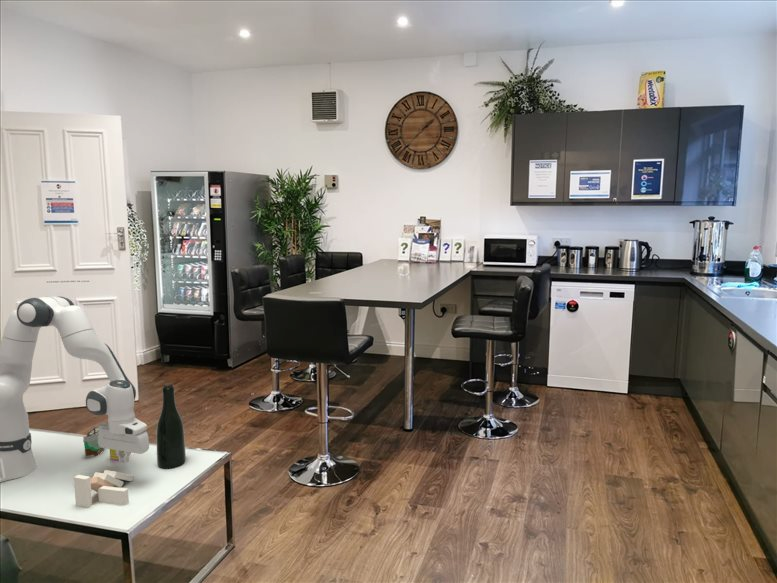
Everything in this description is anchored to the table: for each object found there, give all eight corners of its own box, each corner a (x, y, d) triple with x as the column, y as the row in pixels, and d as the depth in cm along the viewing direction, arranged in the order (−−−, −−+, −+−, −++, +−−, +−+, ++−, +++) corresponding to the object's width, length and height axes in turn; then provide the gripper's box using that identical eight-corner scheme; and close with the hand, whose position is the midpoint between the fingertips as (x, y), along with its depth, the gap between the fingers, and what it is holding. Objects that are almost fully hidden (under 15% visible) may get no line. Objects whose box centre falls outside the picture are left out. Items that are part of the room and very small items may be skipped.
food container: (101, 460, 231) (99, 436, 230) (84, 461, 230) (82, 437, 229) (110, 448, 243) (109, 425, 242) (94, 449, 242) (93, 426, 241)
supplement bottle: (121, 464, 228) (119, 433, 226) (106, 462, 229) (104, 431, 227) (132, 457, 234) (130, 426, 232) (117, 456, 235) (116, 425, 234)
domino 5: (98, 502, 198) (125, 505, 196) (98, 488, 197) (124, 491, 195) (102, 499, 200) (128, 502, 198) (102, 485, 199) (128, 488, 197)
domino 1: (87, 507, 194) (85, 479, 192) (75, 505, 195) (73, 477, 194) (92, 504, 196) (90, 476, 194) (80, 502, 197) (78, 474, 196)
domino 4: (121, 487, 208) (104, 479, 200) (109, 485, 210) (92, 477, 201) (123, 482, 209) (107, 473, 201) (112, 480, 211) (95, 472, 202)
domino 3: (132, 481, 213) (114, 477, 204) (120, 479, 214) (102, 475, 206) (133, 475, 214) (116, 471, 205) (122, 474, 215) (104, 469, 207)
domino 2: (112, 490, 204) (96, 482, 196) (98, 492, 204) (82, 485, 196) (113, 484, 205) (97, 476, 197) (99, 487, 205) (83, 479, 197)
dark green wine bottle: (176, 472, 221) (173, 388, 216) (151, 470, 223) (147, 386, 218) (191, 461, 231) (187, 380, 227) (166, 459, 233) (163, 379, 229)
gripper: (92, 424, 211) (94, 460, 213) (138, 431, 205) (140, 468, 206) (105, 418, 217) (107, 454, 218) (151, 425, 210) (152, 461, 212)
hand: (124, 461), depth 212 cm, fingers closed
